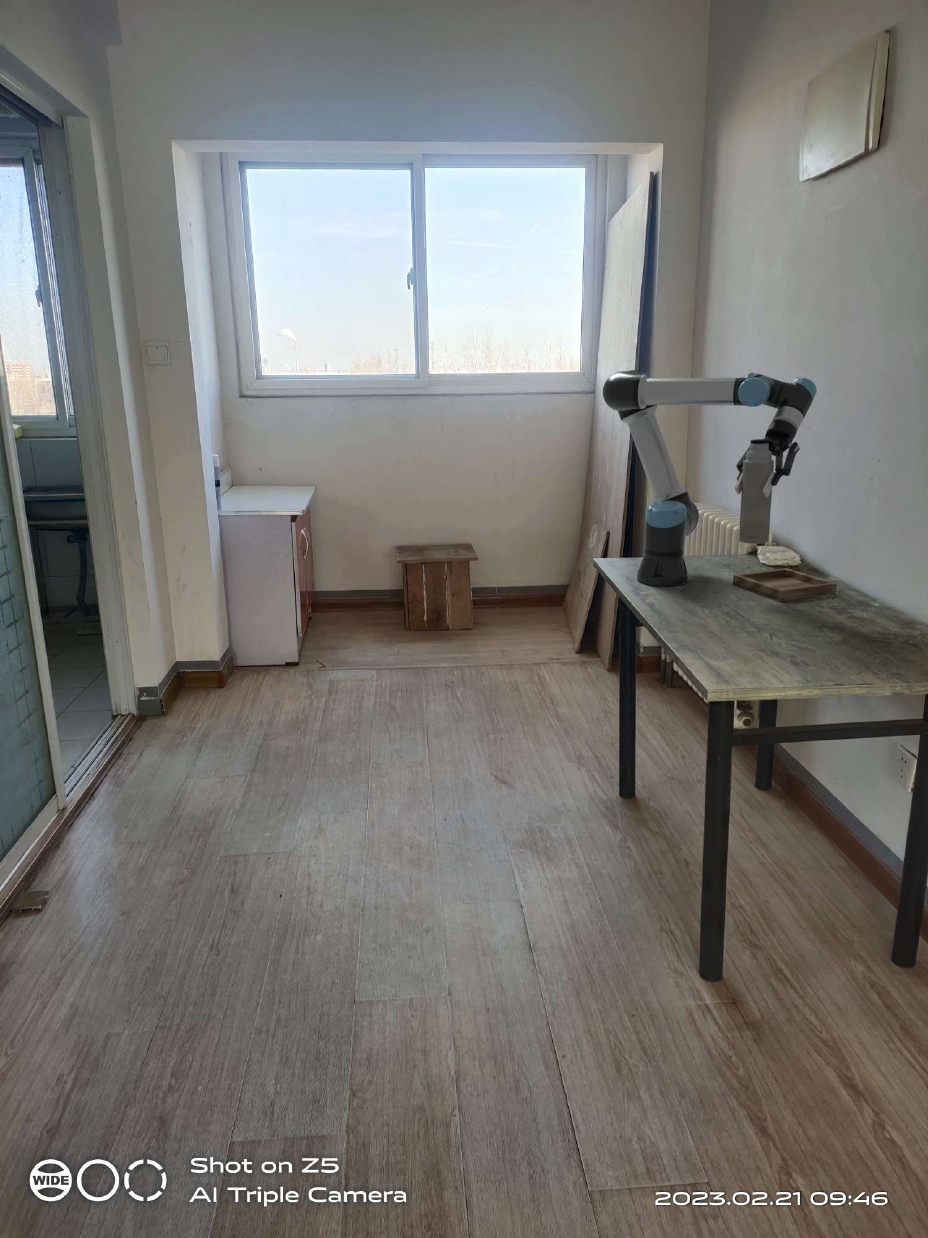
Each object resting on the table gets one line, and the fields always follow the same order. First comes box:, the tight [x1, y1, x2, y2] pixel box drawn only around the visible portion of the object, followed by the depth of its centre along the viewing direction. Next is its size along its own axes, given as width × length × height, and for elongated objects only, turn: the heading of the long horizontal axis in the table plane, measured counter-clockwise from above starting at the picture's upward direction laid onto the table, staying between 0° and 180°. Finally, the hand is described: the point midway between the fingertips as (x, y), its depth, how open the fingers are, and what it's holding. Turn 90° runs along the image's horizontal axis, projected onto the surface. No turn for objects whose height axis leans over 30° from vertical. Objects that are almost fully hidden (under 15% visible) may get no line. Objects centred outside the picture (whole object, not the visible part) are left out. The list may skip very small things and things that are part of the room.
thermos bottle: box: [738, 438, 775, 545], centre depth 231 cm, size 8×8×28 cm
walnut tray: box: [732, 567, 838, 603], centre depth 243 cm, size 20×20×3 cm
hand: (750, 492), depth 228 cm, fingers closed on thermos bottle, 8 cm apart
